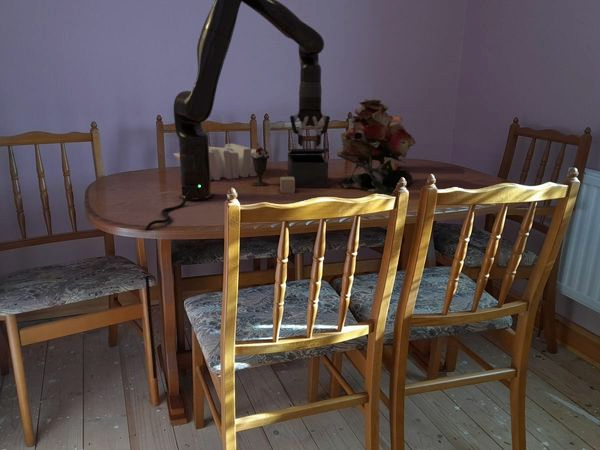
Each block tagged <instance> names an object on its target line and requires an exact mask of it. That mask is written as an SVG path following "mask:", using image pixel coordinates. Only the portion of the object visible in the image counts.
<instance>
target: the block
mask: <svg viewBox="0 0 600 450" xmlns="http://www.w3.org/2000/svg"><path fill="white" fill-rule="evenodd" d="M279 179H280V183H279V188H280V193H281V194H295V193H296V188H295V179H294V177H288V176H280V177H279Z"/></svg>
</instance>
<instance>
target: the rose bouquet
mask: <svg viewBox="0 0 600 450" xmlns="http://www.w3.org/2000/svg"><path fill="white" fill-rule="evenodd" d="M359 104H360V106H361V107H357V108H356V109H355V110H354V114H356V115H354V116H351V118H350V119H351V122H352V124H353V126H351V127H350V128H349V129H346V131H345V132H342V133H341V134H340V138H341V139H340V141H341V143H340V144H341V147H342V148H338V150H339V151H338V152H337V153H336V156H337V157H339V158H341V159H344V160H346V161H348V162H351V163H352V164H355V166H354V169H353V171H352V174H351V176H349V177H347V179H346V181H344V182H340V183H339V184H340V185H341V186H343V189H349V188H356V189H358V190H359V189H360V190H363V191H369V192H373V193H376V194H379V193H381V194H384V195H391V194H393V193H392V192H393V191H394V190H395V188H396V185H397V183H398V182H399V180H400V178H401V177H404V178H405V179H406V181H407V186H409V185H410V184H411V183H412V182H413V175H412V174H411V172H410V171H409V172H408V170H405V169H403V168H397V169H396V170H393V168H392V166H391V159H390V160H389V161H387V162H386V163H384V162H385V159H384V157H388V158H392V159H394V160H396V161H398V163H405V164H406V163H407V162H406V161H404V160H401V159H400V158H401V157H402V158H403V159H405V158H406V157H407V156H408V151H410V149H411V147H412V146H414V145H415V144H416V139H415V138H414V137H413V136H412V134H410V133H409V132H408V131H407V129H406V128H405V126H404V125H403V124H400V123H398V122H391V121H392V119H393V117H394V116H392V115H389V114H388V112H387V111H388V110H389V107H388V106H387V105H385V104H383V103H382V100H381V99H376V98H375V99H374V98H373V99H364V100H363V101H360V102H359ZM398 157H399V159H398ZM373 161H378V162H379V165H378V166H377V167H376V168H375V167H374V168H373ZM387 166H388V168H387ZM361 168H363V170H364V171H365V172H359V173H357V174H356V175H354V173H355V172H356V171H357V170H358V171H359V170H360V169H361ZM371 186H373V187H375V188H371V189H368V188H367V187H371ZM381 194H380V195H381Z"/></svg>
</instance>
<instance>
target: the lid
mask: <svg viewBox="0 0 600 450" xmlns="http://www.w3.org/2000/svg"><path fill="white" fill-rule="evenodd" d="M316 141H317V136H316V135H302V148H291V149H289V151H287V155H305V154H322V155H323V154H326V153H327V152H329V151H330V149H329V148H317V146H316ZM306 142H313V148H306Z"/></svg>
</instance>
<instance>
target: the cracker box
mask: <svg viewBox="0 0 600 450" xmlns="http://www.w3.org/2000/svg"><path fill="white" fill-rule="evenodd" d="M392 117H393V119H392V121H391V122H398V123H400V124H401V125H403V124H402V123H403V117H402V116H392ZM384 159H385V162H384V163H386V162H387V161H389V160H390V159H391V166H392V168H393V170H396V169H398V168H399V161H396V160H394V159H392V158H388V157H384ZM398 159H399V160H400V157H398ZM387 168H388V166H387Z"/></svg>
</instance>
